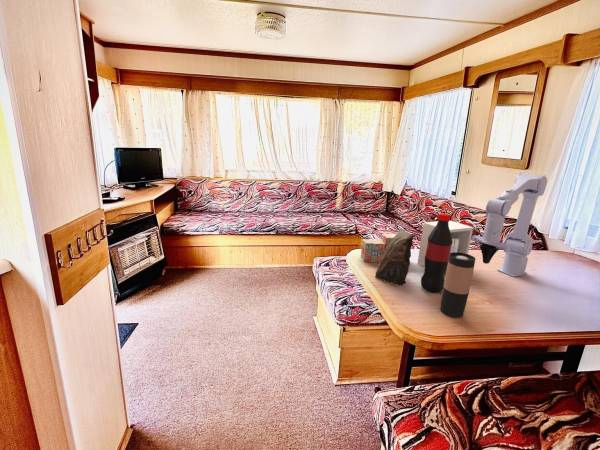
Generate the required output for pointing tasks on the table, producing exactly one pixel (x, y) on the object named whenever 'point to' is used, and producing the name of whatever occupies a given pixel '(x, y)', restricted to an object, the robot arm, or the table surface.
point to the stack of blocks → (375, 248)
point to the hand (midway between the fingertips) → (486, 262)
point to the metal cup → (454, 244)
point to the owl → (396, 259)
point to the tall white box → (455, 229)
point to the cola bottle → (437, 255)
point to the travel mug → (457, 284)
